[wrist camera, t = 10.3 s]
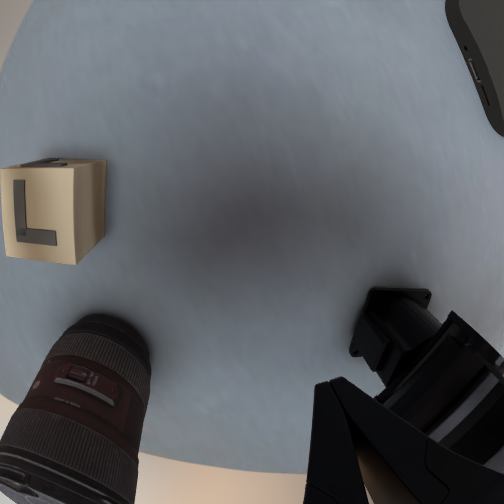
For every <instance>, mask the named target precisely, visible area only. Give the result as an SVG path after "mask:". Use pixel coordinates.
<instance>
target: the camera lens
mask: <svg viewBox="0 0 504 504" xmlns="http://www.w3.org/2000/svg"><path fill="white" fill-rule="evenodd" d="M150 379H151V366H150V362H149V353H148V349H147V346H146V343H145V342H144V340H143V338H142V337H141V336H140V334H139V333H138V332H137V331H136V330H135V329H134V328H133V327H131V326H130V325H129V324H127V323H126V322H124V321H122V320H120V319H118V318H115V317H112V316H108V315H102V314H101V315H91V316H87V317H85V318H83V319H81V320H80V321H79V322H78V323H77V324H74V325H73V326H71V327H69V328H68V329H67V330H66V331H65V332H64V333H63V335H62V336H61V337H60V338H59V339H58V341H57V342H56V343H55V344H54V345H53V347H52V348H51V350H50V351H49V353H48V355H47V356H46V358H45V360H44V362H43V364H42V366H41V369H40V371H39V372H38V374H37V376H36V378H35V380H34V382H33V384H32V385H31V387H30V389H29V391H28V393H27V396H26V397H25V399H24V401H23V402H22V403H21V404H20V405H19V407H18V408H17V410H16V411H15V413H14V414H13V415H12V417H11V419H10V421H9V423H8V425H7V427H6V430H5V431H4V434H3V436H2V438H1V440H0V491H1V492H2V493H4V494H5V495H6V496H7V497H9V498H10V499H12V500H13V501H14V502H15V503H17V504H134V502H135V494H136V486H137V479H138V464H139V459H138V452H139V446H140V440H141V434H142V428H143V422H144V418H145V414H146V410H147V405H148V400H149V395H150Z"/></svg>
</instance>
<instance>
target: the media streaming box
mask: <svg viewBox="0 0 504 504" xmlns="http://www.w3.org/2000/svg"><path fill="white" fill-rule="evenodd" d="M445 8H446V15H447V19H448V22H449V25H450V27H451V29H452V31H453V34H454V36H455V38H456V40H457V42H458V45H459V47H460V49H461V51H462V54H463V56H464V58H465V61H466V63H467V66H468V65H469V66H468V68H469V70H470V73H471V75H472V78H473V80H474V83H475V86H476V88H477V91H478V93H479V96H480V99H481V101H482V104H483V107H484V110H485V112H486V115H487V118H488V120H489V122H490V124H491V125H492V127H493V128H494V129H495V131H496V132H497V133H498V134H500V135H501V136H503V137H504V0H446V5H445Z"/></svg>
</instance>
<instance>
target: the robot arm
mask: <svg viewBox="0 0 504 504" xmlns="http://www.w3.org/2000/svg"><path fill="white" fill-rule="evenodd" d="M375 293H377V294H376V295H375V296H373V295H374V294H375ZM431 295H432V294H431V292H430V291H429V290H427V289H400V288H372V289H371V290H370V291H369V293H368V297H367V300H366V303H365V306H364V309H363V312H362V314H361V316H360V319H359V322H358V325H357V328H356V331H355V333H354V336H353V341H352V344H351V346H350V349H349V353H350V355H351V356H352V357H363V358H364V359H365V361H366V362H367V364H368V366H369V367H370V369H371V370H372V371H373V372H377V374H378V376H379V377H380V379H381V380H382V382H383V384H384V385H385V387H386V388H385V389H384V390H383V391H382V392H381V393H380V394H379V395H378V396H377V395H376V396H375V397H374V398H372V397H370V396H369V395H368V394H366V393H365V392H363V391H362V390H361V389H359V388H358V387H356V386H355V385H354V384H352V383H351V382H350V381H348V380H347V379H345V378H344V377H338V378H335V379H331V380H330V381H329V382H328V381H325V382H322V383H318V384H316V385H315V388H314V404H313V418H312V430H311V442H310V452H309V462H308V471H307V480H306V483H307V484H306V488H305V495H304V501H303V504H369V502H368V498H367V494H366V490H365V486H366V488H367V490H368V492H369V494H370V496H371V498H372V500H373V502H374V504H504V375H503V374H504V358H503V357H502V356H501V355H500V354H499V353H498V352H497V351H496V350H495V349H494V348H493V347H492V346H491V345H490V344H489V343H488V342H487V341H486V340H485V339H484V338H483V337H482V336H480V335H479V334H478V333H477V332H476V331H475V330H474V329H473V328H472V327H471V326H469V325H468V324H467V323H466V322H465V321H464V320H463V319H461V318H460V317H459V316H458V315H457V314H456V313H455V312H453V311H451V312H450V314H449V315H448V318H447V319H446V321H445V322H444V323H443V324H441V323H440V322H439V321H438V320H437V319H436V318H435V317H434V316H433V315H432V314H431V313H430V312H429V311H428V310H427V307H428V304H429V301H430V299H431ZM354 351H355V352H354ZM364 484H365V486H364Z"/></svg>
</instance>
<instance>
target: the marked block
mask: <svg viewBox="0 0 504 504" xmlns="http://www.w3.org/2000/svg"><path fill="white" fill-rule="evenodd" d="M106 164H107V160H94V159H59V158H49V159H42V160H37V161H32V162H28V163H23V164H19V165H15V166H10V167H6V168H2V169H1V204H2V219H3V230H4V240H5V248H6V255H7V256H10V257H18V258H25V259H32V260H39V261H47V262H55V263H63V264H71V265H76V264H77V263H78V262H79V261H80V260H81V259H82V258H83V257H84V256H85V255H86V254H87V253H88V252H89V251H90V250H91V249H92V248H93V247H94V246H95V245H96V244H97V243H98V242H99V241H100V240H101V239H102V238H103V237H104V236H105V182H106Z"/></svg>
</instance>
